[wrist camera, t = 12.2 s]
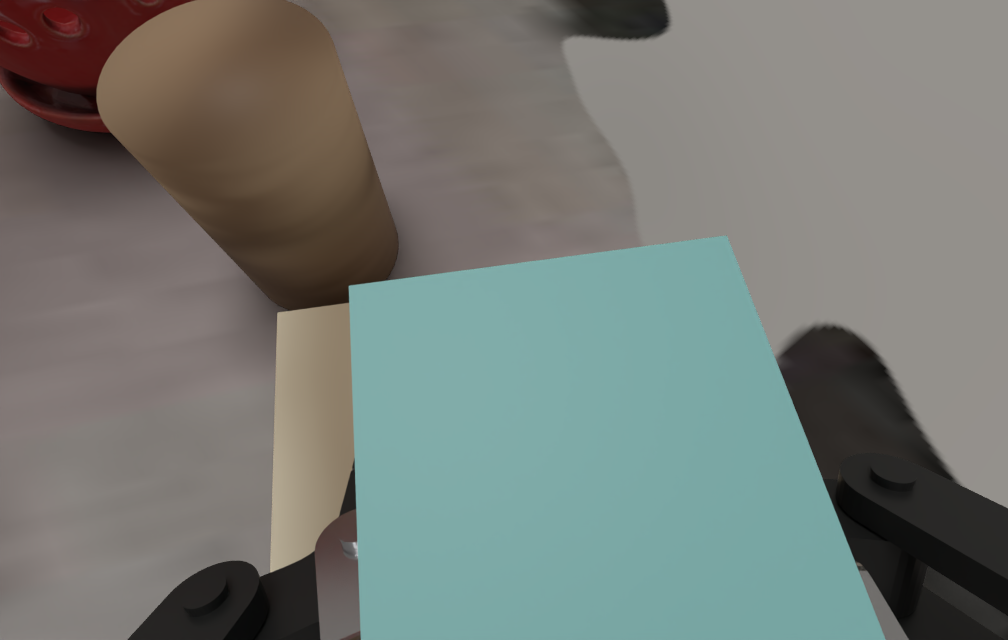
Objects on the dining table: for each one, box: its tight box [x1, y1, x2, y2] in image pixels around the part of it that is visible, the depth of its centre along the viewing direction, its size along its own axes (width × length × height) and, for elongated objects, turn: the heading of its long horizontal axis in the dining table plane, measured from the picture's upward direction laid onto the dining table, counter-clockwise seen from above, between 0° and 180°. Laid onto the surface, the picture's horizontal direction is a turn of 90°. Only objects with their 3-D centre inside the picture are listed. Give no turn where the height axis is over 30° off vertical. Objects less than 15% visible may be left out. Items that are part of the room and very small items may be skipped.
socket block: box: [270, 303, 355, 573], centre depth 15 cm, size 13×13×5 cm
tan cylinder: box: [97, 0, 398, 311], centre depth 18 cm, size 6×6×9 cm
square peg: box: [349, 236, 886, 640], centre depth 10 cm, size 4×4×13 cm
